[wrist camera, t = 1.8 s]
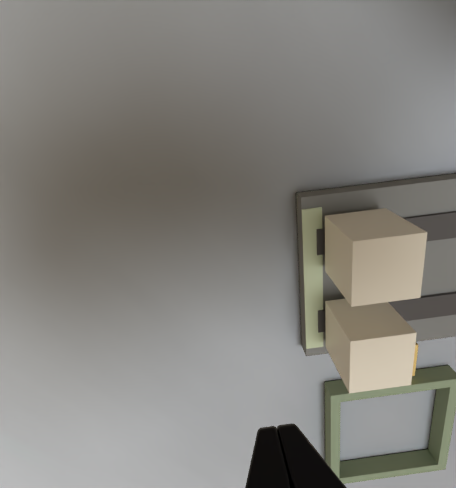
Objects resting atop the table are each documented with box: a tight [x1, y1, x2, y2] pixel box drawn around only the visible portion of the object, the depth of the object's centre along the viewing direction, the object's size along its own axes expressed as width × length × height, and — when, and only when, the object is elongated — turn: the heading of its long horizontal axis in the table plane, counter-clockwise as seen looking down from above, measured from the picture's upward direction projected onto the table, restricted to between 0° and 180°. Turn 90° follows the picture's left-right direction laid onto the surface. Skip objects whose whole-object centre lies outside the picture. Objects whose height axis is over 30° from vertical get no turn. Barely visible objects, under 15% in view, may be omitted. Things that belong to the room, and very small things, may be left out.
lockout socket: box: [325, 343, 456, 484], centre depth 24 cm, size 8×11×1 cm
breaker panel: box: [296, 173, 456, 356], centre depth 20 cm, size 11×10×1 cm
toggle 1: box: [325, 208, 427, 307], centre depth 16 cm, size 3×3×4 cm
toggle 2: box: [325, 299, 417, 393], centre depth 18 cm, size 3×3×4 cm
